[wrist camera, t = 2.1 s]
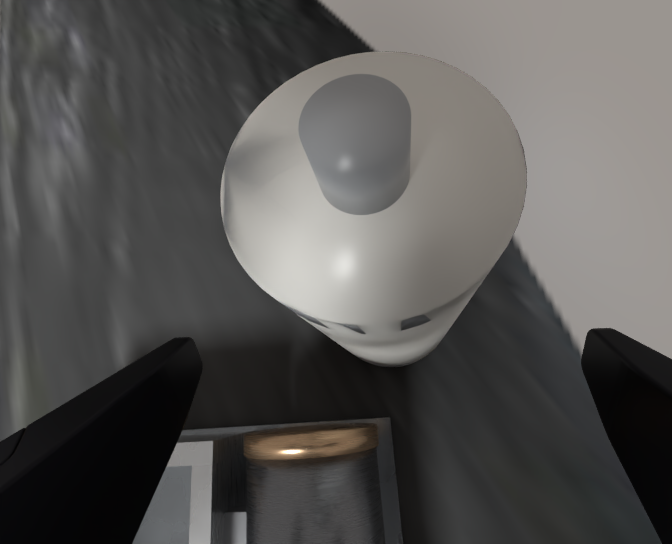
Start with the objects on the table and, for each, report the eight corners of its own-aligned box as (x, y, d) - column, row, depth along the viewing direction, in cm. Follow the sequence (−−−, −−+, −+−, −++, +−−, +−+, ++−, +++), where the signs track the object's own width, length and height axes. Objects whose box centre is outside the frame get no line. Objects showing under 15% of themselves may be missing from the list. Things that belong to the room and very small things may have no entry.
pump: (460, 361, 18) (611, 280, 5) (333, 372, 19) (166, 326, 6) (441, 242, 20) (512, -56, 7) (326, 256, 21) (187, 17, 8)
